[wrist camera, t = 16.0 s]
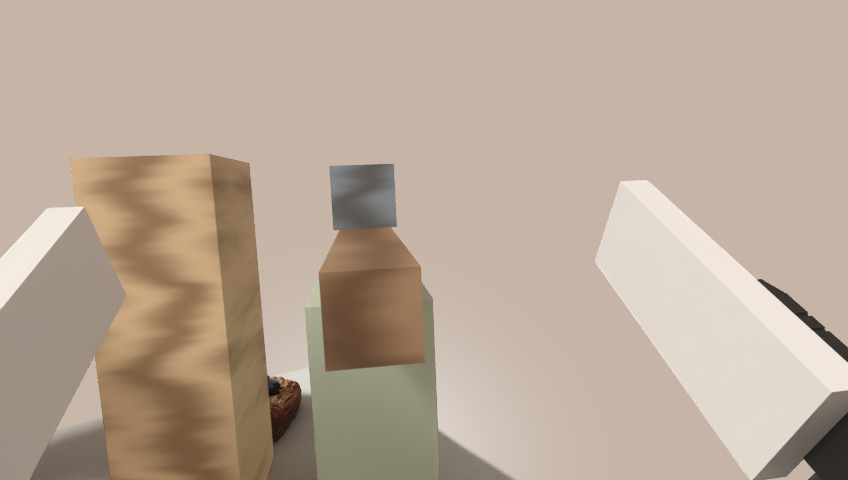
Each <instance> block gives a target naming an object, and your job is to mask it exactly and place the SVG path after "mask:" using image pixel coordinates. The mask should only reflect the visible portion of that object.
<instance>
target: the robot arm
mask: <svg viewBox="0 0 848 480" xmlns="http://www.w3.org/2000/svg"><path fill="white" fill-rule="evenodd" d="M595 263H596V264H597V266H598V267H599V268H600V270H601V271H602V273H603V274H604V275H605V277H606V278H607V280H608V281H609V282H610V284H611V285H612V287H613V288H614V289H615V291H616V292H617V294H618V295H619V297H620V298H621V299H622V301H623V302H624V304H625V305H626V306H627V308H628V309H629V311H630V312H631V314H632V315H633V316H634V318H635V319H636V321H637V322H638V323H639V325H640V326H641V328H642V329H643V330H644V332H645V333H646V335H647V336H648V337H649V339H650V340H651V342H652V343H653V345H654V346H655V347H656V349H657V350H658V351H659V353H660V354H661V356H662V357H663V359H664V360H665V361H666V363H667V364H668V366H669V367H670V368H671V370H672V371H673V373H674V374H675V376H676V377H677V378H678V380H679V381H680V383H681V384H682V385H683V387H684V388H685V390H686V391H687V392H688V394H689V395H690V397H691V398H692V400H693V401H694V402H695V404H696V405H697V407H698V408H699V409H700V411H701V412H702V414H703V415H704V416H705V418H706V419H707V421H708V422H709V424H710V425H711V426H712V428H713V429H714V431H715V432H716V433H717V435H718V436H719V438H720V439H721V440H722V442H723V443H724V445H725V446H726V447H727V449H728V450H729V452H730V453H731V455H732V456H733V457H734V459H735V460H736V462H737V463H738V464H739V466H740V467H741V468H742V470H743V471H744V473H745V474H746V476H747V477H748V479H749V480H766V479H772V478H779V477H785V476H787V475H788V474H789V473H790V472H791V471H792V470H793V469H794V468H795V467H796V466H797V465H798V464H799V463H800V462H801V461H802V460H803V459H805V461H806V462H807V463H808V464H809V465H810V467H811V468H812V469H813V470H814V471H815V474H814V475H813V476H812V477H810V478H809V479H808V480H848V347H847V346H845V345H844V344H843V343H842V342H841V341H840V340H839V339H837V338H836V337H835V336H834V335H833V334H832V333H831V332H829V331H825V329H824V328H825V327H824V326H823V325H822V324H820V323H819V322H818V321H817V320H816V319H815V318H814V317H812V316H808V314H807V313H808V312H807V311H805V309H803V308H802V307H801V306H800V305H799V304H798V303H797V302H795V301H794V300H793V299H792V298H791V297H790V296H789V295H788V294H786V293H784V292H782V291H780V290H779V289H777V288H776V287H774V286H772V285H770V284H769V283H767V282H765V281H763V280H762V279H759V280H756V279H755V278H754V277H753V276H752V275H751V274H750V273H749V272H748V271H746V270H745V269H744V268H743V267H742V266H741V265H740V264H739V263H738V262H737V261H735V260H734V259H733V258H732V257H731V256H730V255H729V254H728V253H727V252H725V251H724V250H723V249H722V248H721V247H720V246H719V245H718V244H717V243H716V242H715V241H713V240H712V239H711V238H710V237H709V236H708V235H707V234H706V233H705V232H704V231H702V230H701V229H700V228H699V227H698V226H697V225H696V224H695V223H694V222H693V221H691V220H690V219H689V218H688V217H687V216H686V215H685V214H684V213H683V212H681V210H679V209H678V208H677V207H676V206H675V205H674V204H673V203H672V202H671V201H669V200H668V199H667V198H666V197H665V196H664V195H663V194H662V193H661V192H660V191H659V190H657V189H656V188H655V187H654V186H653V185H652V184H651V183H650V182H649V181H647V180H640V181H621V182H620V185H619V188H618V191H617V194H616V198H615V201H614V204H613V207H612V210H611V213H610V216H609V219H608V222H607V225H606V228H605V232H604V235H603V238H602V241H601V244H600V247H599V250H598V254H597V256H596V260H595ZM125 297H126V294H125V292H124V290H123V288H122V285H121V283H120V281H119V279H118V277H117V275H116V273H115V270H114V268H113V266H112V264H111V262H110V260H109V258H108V256H107V253H106V251H105V249H104V247H103V245H102V243H101V241H100V238H99V236H98V234H97V232H96V230H95V228H94V226H93V224H92V221H91V219H90V217H89V215H88V213H87V211H86V209H85V206H84V207H63V208H47V209H46V210H45V211H44V212H43V213H42V214H41V216H40V217H39V218H38V219H37V220H36V221H35V222H34V223H33V224H32V225H31V226H30V227H29V229H28V230H27V231H26V232H25V233H24V234H23V235H22V236H21V237H20V238H19V239H18V241H16V242H15V244H14V245H13V246H12V247H11V248H10V249H9V250H8V251H7V252H6V253H5V254H4V255H3V256H2V258H1V259H0V480H30V478H31V476H32V474H33V472H34V470H35V468H36V466H37V464H38V462H39V461H40V459H41V457H42V455H43V453H44V451H45V449H46V447H47V445H48V443H49V442H50V440H51V438H52V436H53V434H54V432H55V430H56V428H57V426H58V425H59V423H60V421H61V419H62V417H63V415H64V413H65V411H66V409H67V407H68V406H69V404H70V402H71V400H72V398H73V396H74V394H75V392H76V390H77V388H78V387H79V385H80V383H81V381H82V379H83V377H84V375H85V373H86V371H87V369H88V368H89V366H90V364H91V362H92V360H93V358H94V356H95V354H96V352H97V351H98V349H99V347H100V345H101V343H102V341H103V339H104V337H105V335H106V333H107V332H108V330H109V328H110V326H111V324H112V322H113V320H114V318H115V316H116V314H117V313H118V311H119V309H120V307H121V305H122V303H123V301H124V299H125Z"/></svg>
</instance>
